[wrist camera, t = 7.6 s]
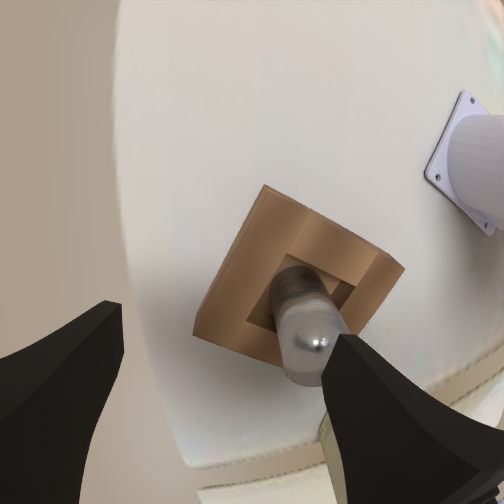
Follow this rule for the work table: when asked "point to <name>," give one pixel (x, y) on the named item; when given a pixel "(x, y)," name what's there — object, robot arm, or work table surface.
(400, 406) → the robot arm
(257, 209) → the socket block
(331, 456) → the skincare box
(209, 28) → the work table surface
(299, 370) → the pin
